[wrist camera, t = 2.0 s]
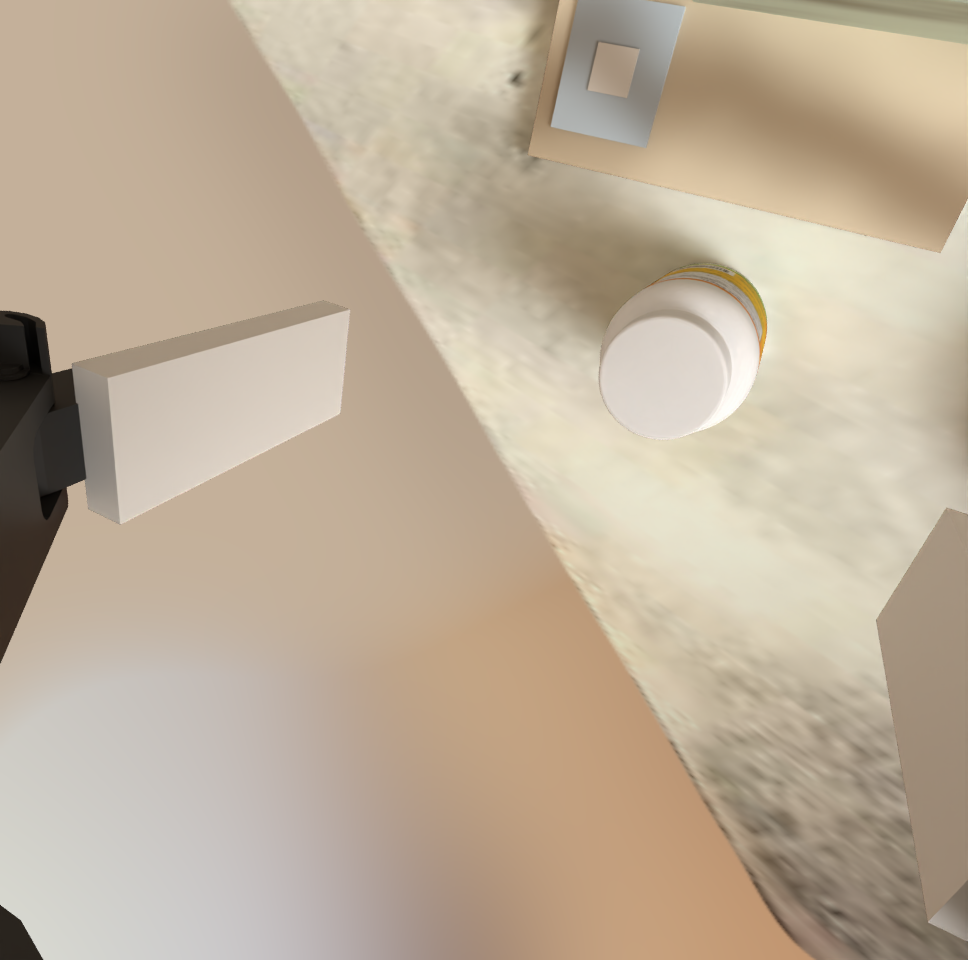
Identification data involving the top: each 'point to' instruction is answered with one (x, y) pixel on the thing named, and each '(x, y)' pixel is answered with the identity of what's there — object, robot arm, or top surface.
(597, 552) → the top surface
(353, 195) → the top surface
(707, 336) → the supplement bottle
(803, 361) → the top surface
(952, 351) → the top surface
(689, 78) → the beige and green stand
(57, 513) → the robot arm
